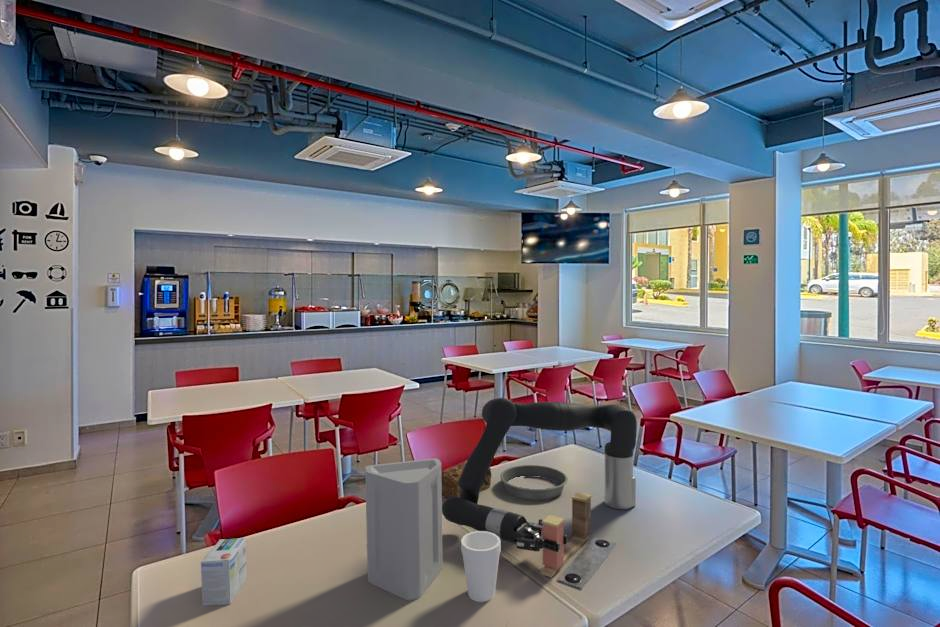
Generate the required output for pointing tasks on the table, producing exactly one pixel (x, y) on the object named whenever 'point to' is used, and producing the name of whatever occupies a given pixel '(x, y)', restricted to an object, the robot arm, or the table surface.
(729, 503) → the table surface
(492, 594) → the foam cup
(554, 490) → the cake pan
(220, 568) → the light bulb box
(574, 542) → the rail
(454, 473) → the bread
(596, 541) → the flange plate
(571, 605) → the table surface
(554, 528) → the sliding leg
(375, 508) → the triangular storage bin
